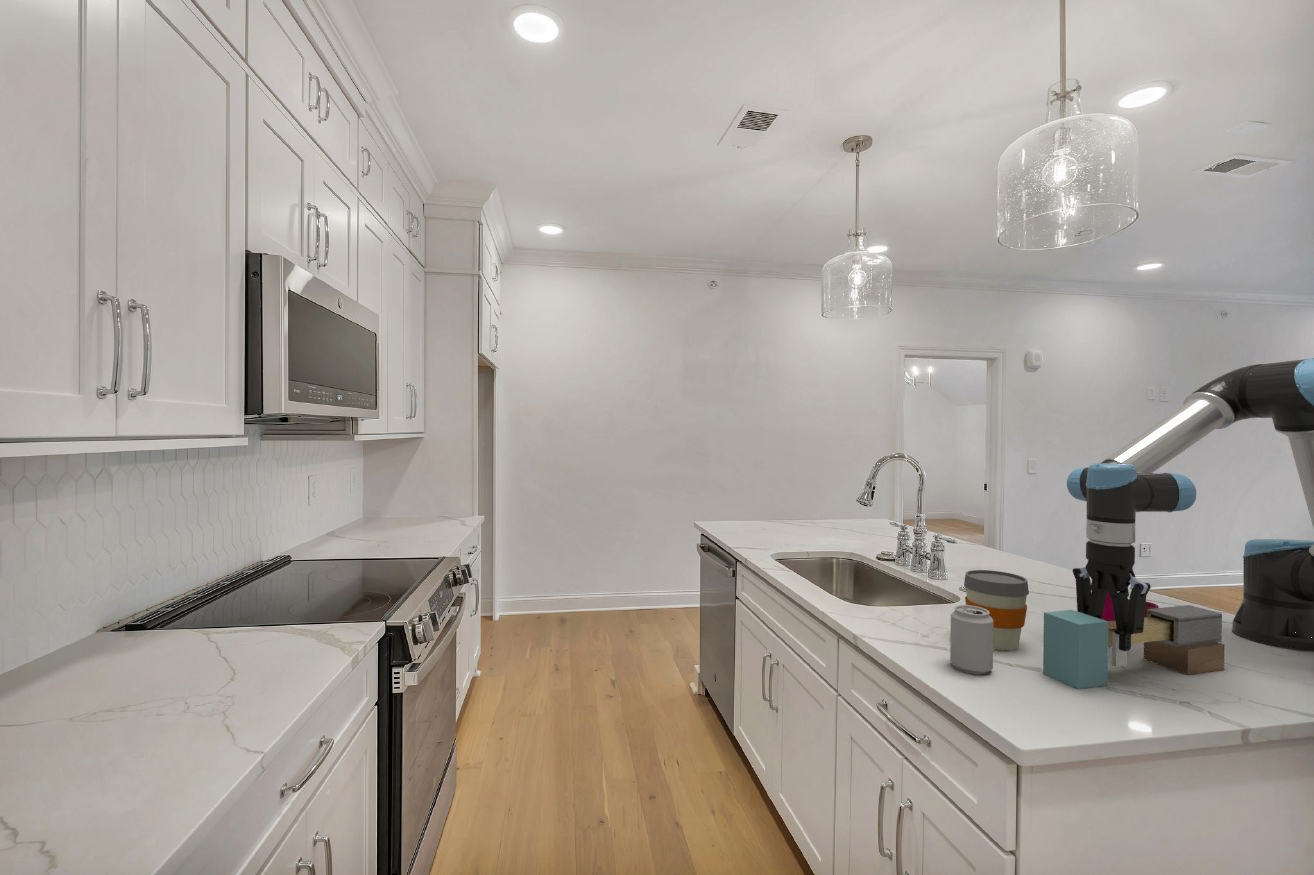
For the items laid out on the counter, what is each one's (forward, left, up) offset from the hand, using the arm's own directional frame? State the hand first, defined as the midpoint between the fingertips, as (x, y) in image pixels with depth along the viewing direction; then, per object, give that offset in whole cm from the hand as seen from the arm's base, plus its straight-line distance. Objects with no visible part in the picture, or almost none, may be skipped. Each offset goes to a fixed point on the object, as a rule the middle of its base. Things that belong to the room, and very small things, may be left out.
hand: (1108, 661), depth 111 cm
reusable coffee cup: (+8, -19, -3) cm, 21 cm away
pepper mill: (-19, -15, -3) cm, 24 cm away
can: (+24, -9, -3) cm, 26 cm away
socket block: (+8, 0, -3) cm, 8 cm away
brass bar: (-5, 0, +4) cm, 6 cm away
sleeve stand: (-20, 0, -3) cm, 20 cm away
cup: (-32, -15, -3) cm, 35 cm away
